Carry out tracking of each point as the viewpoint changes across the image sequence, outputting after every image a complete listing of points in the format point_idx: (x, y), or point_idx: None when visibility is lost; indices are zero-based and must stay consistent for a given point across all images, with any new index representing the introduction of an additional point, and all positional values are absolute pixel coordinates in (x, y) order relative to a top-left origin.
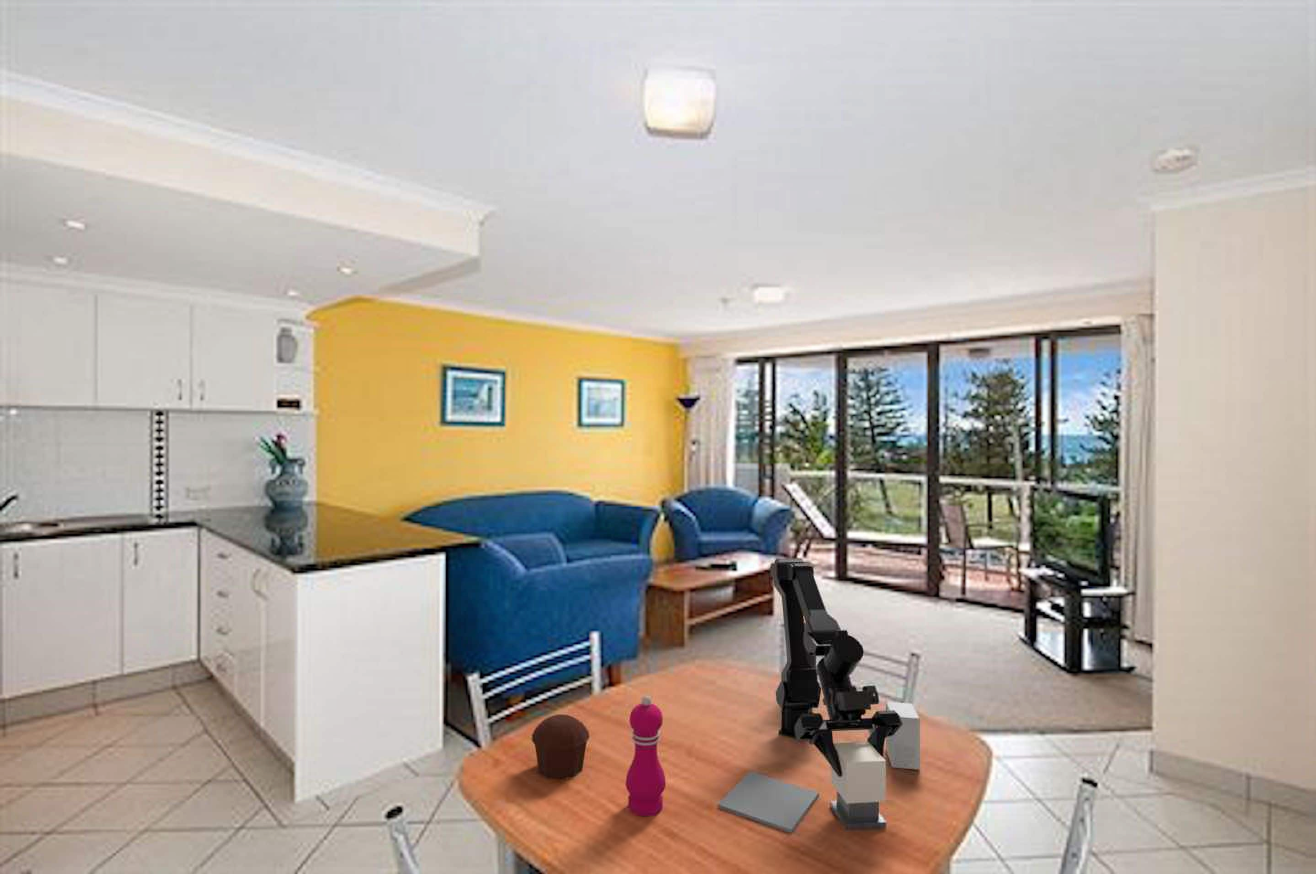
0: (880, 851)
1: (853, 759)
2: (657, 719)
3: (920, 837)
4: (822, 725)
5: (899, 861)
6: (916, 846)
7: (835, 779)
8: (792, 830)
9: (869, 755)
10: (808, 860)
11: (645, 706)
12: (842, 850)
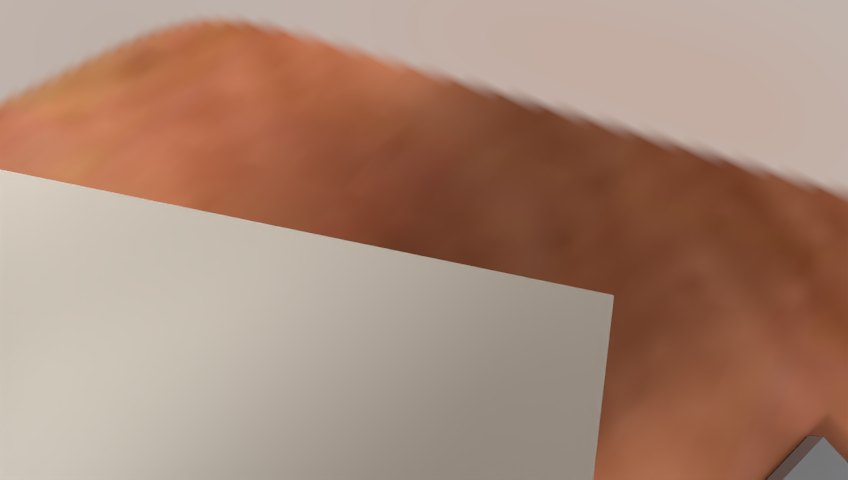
0: (403, 152)
1: (430, 351)
2: None
3: (112, 184)
4: None
5: (363, 66)
6: (195, 130)
7: None
8: (801, 448)
9: (19, 402)
10: (795, 199)
11: None
12: (589, 215)
